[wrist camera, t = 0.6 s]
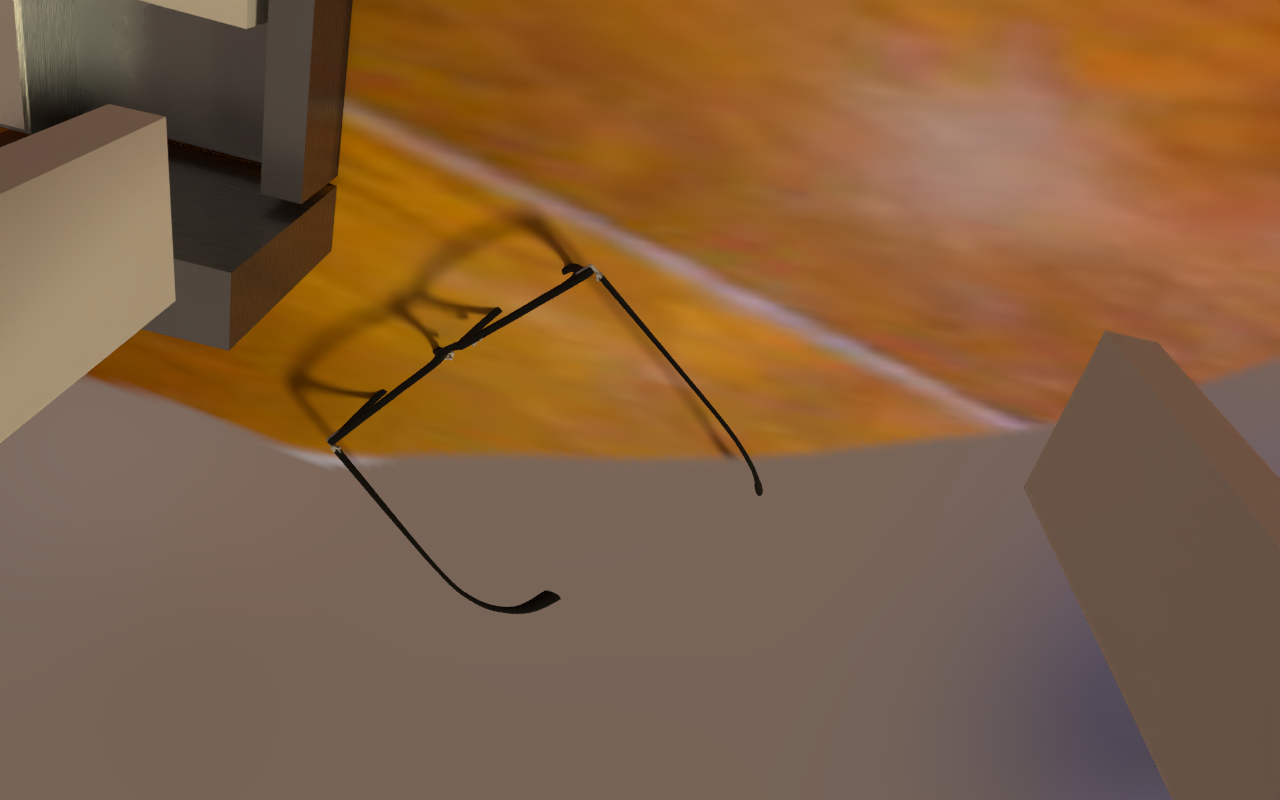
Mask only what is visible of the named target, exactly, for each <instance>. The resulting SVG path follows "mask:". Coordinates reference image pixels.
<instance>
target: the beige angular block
mask: <svg viewBox="0 0 1280 800" xmlns="http://www.w3.org/2000/svg"><path fill="white" fill-rule="evenodd" d="M140 1H144V2H147V3H151V4H155V5H159V6H162V7H166V8H170V9H173V10H177V11H181V12H185V13H188V14H192V15H196V16H200V17H203V18H207V19H211V20H215V21H218V22H222V23H226V24H229V25H233V26H237V27H241V28H244V29H248V28H251V27H254V26H257V25H260V24H263V23H267V22H268V4H269V0H140Z"/></svg>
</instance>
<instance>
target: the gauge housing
mask: <svg viewBox="0 0 1280 800" xmlns="http://www.w3.org/2000/svg"><path fill="white" fill-rule="evenodd" d="M351 11H352V0H269V4H268V22H267V23H263V24H260V25H257V26H254V27H251V28H248V29H244V28H241V27H237V26H233V25H229V24H226V23H222V22H218V21H215V20H211V19H207V18H203V17H200V16H196V15H192V14H188V13H185V12H181V11H177V10H173V9H170V8H166V7H162V6H159V5H155V4H151V3H147V2H144V1H140V0H0V127H4V128H7V129H10V130H8V131H5V132H2V133H0V147H3V146H5V145H8V144H10V143H13V142H15V141H18V140H20V139H22V138H25V137H27V136H30V135H32V134H35V133H37V132H40V131H42V130H45V129H47V128H50V127H52V126H55V125H57V124H60V123H62V122H65V121H67V120H70V119H72V118H75V117H77V116H80V115H82V114H85V113H87V112H90V111H92V110H95V109H97V108H100V107H102V106H105V105H107V104H112V105H116V106H120V107H125V108H129V109H134V110H138V111H142V112H147V113H151V114H156V115H160V116H164V117H166V128H167V138H168V139H172V140H176V141H179V142H183V143H187V144H191V145H195V146H199V147H203V148H206V149H210V150H214V151H218V152H222V153H226V154H229V155H233V156H237V157H241V158H245V159H249V160H253V161H256V162H260V163H262V167H259V166H255V165H251V164H247V163H244V162H240V161H236V160H232V159H228V158H224V157H220V156H217V155H213V154H209V153H205V152H201V151H197V150H193V149H190V148H186V147H182V146H178V145H174V144H170V143H167V147H168V166H169V184H170V203H171V222H172V241H173V260H174V279H175V298H176V301H175V302H174V303H172V304H171V305H170V306H169V307H167V308H166V309H165V310H164V311H162V312H161V313H160V314H159V315H158V316H156V317H155V318H154V319H153V320H151V321H150V322H149V323H148V324H146V325H145V326H144V327H143V328H141V329H144V330H148V331H152V332H156V333H160V334H164V335H168V336H172V337H176V338H180V339H184V340H188V341H192V342H196V343H200V344H204V345H208V346H213V347H217V348H221V349H225V350H230V349H231V348H232V347H233V346H234V345H235V344H236V343H237V342H238V341H239V340H240V339H241V338H242V337H243V336H244V335H245V334H247V333H248V332H249V331H250V330H251V329H252V328H253V327H254V326H255V325H256V324H257V323H258V322H259V321H260V320H261V319H262V318H263V317H264V316H265V315H266V314H267V313H268V312H269V311H270V310H271V309H272V308H273V307H274V306H275V305H276V304H277V303H278V302H279V301H280V300H281V299H282V298H283V297H284V296H285V295H287V294H288V293H289V292H290V291H291V290H292V289H293V288H294V287H295V286H296V285H297V284H298V283H299V282H300V281H301V280H302V279H303V278H304V277H305V276H306V275H307V274H308V273H309V272H310V271H311V270H312V269H313V268H314V267H315V266H316V265H317V264H318V263H319V262H320V261H321V260H322V259H323V258H324V257H325V256H327V255H328V254H329V253H330V252H331V247H332V235H333V224H334V212H335V200H336V188H337V187H336V186H332V185H328V184H327V183H329V182H330V181H331V180H333V179H334V178H335V177H336V176H338V165H339V153H340V141H341V129H342V118H343V106H344V94H345V82H346V70H347V59H348V47H349V35H350V23H351Z"/></svg>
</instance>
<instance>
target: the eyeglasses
mask: <svg viewBox="0 0 1280 800" xmlns="http://www.w3.org/2000/svg"><path fill="white" fill-rule="evenodd" d="M569 272H574V273H573V274H572V276H571V277H570V278H569V279H567V280H566V281H565V282H563V283H562V284H560V285H558V286H557V287H555V288H553V289H551V290H550V291H548V292H546V293H544V294H543V295H541V296H539V297H537V298H536V299H534V300H532V301H531V302H529V303H528V304H526V305H524V306H522V307H521V308H519V309H517V310H516V311H514V312H512V313H510V314H509V315H507V316H505V317H503V318H502V319H500V320H498V321H496V322H494V323H493V324H491V325H489V326H487V327H486V328H484V327H485V326H486V325H487V324H488V323H489V322H491V321H492V320H493V319H494V318H495V317H496V316H498V315H499V314H500V313H501V312H502V310H501V309H500V308H499V307H497V308H495V309H494V310H493V311H491V312H490V313H489V314H488V315H487V316H485V317H484V318H483V319H482V320H481V321H480V322H479V323H477V324H476V325H475V326H474V327H473V328H472V329H471V330H470V331H469V332H468V333H466V334H465V335H464V336H463V337H462V338H461V339H460V340H459V341H458V342H455V343H453V344H450V345H448V346H446V347H444V348H442V347H437V348H436V349H434V350H433V353H434V354H435V357H434V359H433V360H431V361H430V362H429V363H428V364H427V365H426V366H424V367H423V368H422V369H420V370H419V371H418V372H416V373H415V374H414V375H412V376H411V377H410V378H408V379H407V380H406V381H404V382H403V383H402V384H400V385H399V386H398V387H396V388H395V389H394V390H392V391H391V392H390V393H389V394H387V395H386V396H385V397H383V398H382V399H381V400H379V399H380V398H381V397H382V396H383V395H385V394H386V393H387V391H385V390H384V389H382V390H380V391H379V392H377V393H376V394H375V395H374V396H373V397H372V398H371V399H370V400H369V401H368V402H366V403H365V404H364V405H363V406H362V407H361V408H360V409H359V410H358V411H357V412H356V413H355V414H354V415H353V416H352V417H351V418H350V419H349V420H348V421H347V422H346V423H345V424H344V425H343V426H342V427H341V428H340V429H339V430H337V431H336V432H335V433H333V434H332V435H331V436H329V437H328V438H327V440H326V441H327V442H328V443H329V445H330V446H331V447H332V448H331V449H332V451H333V452H334V453H335V454H336V455H337V456H338V458H339V459H340V460H341V461H342V462H343V463H344V465H345V466H346V467H347V468H348V469H349V471H350V472H351V473H352V474H353V475H354V476H355V477H356V479H357V480H358V481H359V482H360V483H361V485H362V486H363V487H364V488H365V489H366V491H368V493H369V494H370V495H371V496H372V498H373V499H374V500H375V501H376V502H377V503H378V505H379V506H380V507H381V508H382V509H383V511H384V512H385V513H386V514H387V515H388V516H389V518H390V519H392V521H393V522H394V523H395V524H396V526H397V527H398V528H399V529H400V530H401V531H402V533H403V534H404V535H405V536H406V537H407V538H408V540H409V541H410V542H411V543H412V544H413V545H414V547H415V548H416V549H417V550H418V551H419V552H420V554H421V555H422V556H423V557H424V558H425V559H426V560H427V561H428V562H429V564H431V566H432V567H433V568H434V569H435V570H436V571H437V572H438V573H439V574H440V575H441V577H442V578H443V579H444V580H445V581H446V582H447V583H448V584H449V585H450V586H452V587H453V588H454V589H455V590H456V591H457V592H459V593H460V594H461V595H462V596H464V597H465V598H467V599H469V600H470V601H472V602H474V603H475V604H477V605H479V606H482V607H483V608H486V609H489V610H492V611H496V612H503V613H509V614H525V613H531V612H534V611H538V610H540V609H543V608H545V607H547V606H549V605H551V604H553V603H555V602H557V601H558V600H560V599H561V598H560V596H559V595H558V594H556V593H554V592H552V591H548V590H546V591H543V592H542V593H540V594H539V595H537V596H536V597H534V598H533V599H531V600H529V601H527V602H525V603H523V604H521V605H518V606H515V607H500V606H494V605H490V604H487V603H484V602H482V601H479V600H477V599H475V598H474V597H472V596H470V595H469V594H467V593H465V592H464V591H462V590H461V589H460V588H459V587H457V586H456V585H455V584H454V583H453V582H452V581H451V580H450V579H449V578H448V577H447V576H446V575H445V574H444V573H443V572H442V571H441V570H440V569H439V567H437V565H436V564H435V563H434V562H433V561H432V560H431V559H430V557H429V556H428V555H427V554H426V553H425V552H424V550H423V549H422V548H421V547H420V545H419V544H418V543H417V542H416V541H415V540H414V538H413V537H412V536H411V535H410V534H409V532H408V531H407V530H406V529H405V528H404V526H403V525H402V524H401V523H400V521H399V520H398V519H397V518H396V516H395V515H394V514H393V513H392V512H391V510H390V509H389V508H388V507H387V505H386V504H385V503H384V502H383V501H382V499H381V498H380V497H379V496H378V494H377V493H376V492H375V491H374V489H373V488H372V487H371V486H370V485H369V483H368V482H367V481H366V480H365V478H364V477H363V476H362V475H361V474H360V472H359V471H358V470H357V469H356V467H355V466H354V465H353V464H352V462H351V461H350V460H349V459H348V458H347V456H346V455H345V454H344V453H343V451H342V450H341V447H340V446H337V445H336V444H335V443H337V442H338V441H339V440H341V439H342V438H343V437H344V436H346V435H347V434H348V433H349V432H351V431H352V430H353V429H355V428H356V427H357V426H358V425H360V424H361V423H362V422H364V421H365V420H366V419H368V418H369V417H370V416H372V415H373V414H374V413H376V412H377V411H378V410H380V409H381V408H382V407H384V406H385V405H386V404H387V403H389V402H390V401H391V400H393V399H394V398H395V397H397V396H398V395H399V394H400V393H402V392H403V391H404V390H406V389H407V388H409V387H410V386H411V385H413V384H414V383H415V382H417V381H418V380H419V379H421V378H422V377H423V376H425V375H426V374H427V373H429V372H430V371H431V370H433V369H434V368H435V367H437V366H438V365H439V364H440V363H441V362H442V361H443V360H445V359H450V360H453V358H452V357H454V352H453V351H455V350H463V349H464V348H466V347H468V346H470V345H473V346H475V345H476V344H477V342H478V341H481V340H482V338H484V337H486V336H487V335H489V334H491V333H493V332H494V331H496V330H498V329H500V328H502V327H503V326H505V325H507V324H509V323H511V322H513V321H514V320H516V319H518V318H519V317H521V316H523V315H525V314H526V313H528V312H530V311H531V310H533V309H535V308H537V307H538V306H540V305H542V304H544V303H545V302H547V301H549V300H551V299H552V298H554V297H556V296H558V295H559V294H561V293H563V292H565V291H566V290H568V289H570V288H572V287H573V286H575V285H577V284H578V283H580V282H582V281H584V280H585V279H587V278H588V277H590V276H591V275H592V274H593V273H594V272H595V273H596V276H597V278H596V280H597V281H601V282H602V283H603V285H604V286H605V287H606V288H607V289H608V290H609V292H610V293H611V294H612V295H613V296H614V297H615V299H616V300H617V301H618V302H619V303H620V304H621V306H622V307H623V308H624V309H625V310H626V311H627V313H628V314H629V315H630V316H631V317H632V318H633V320H634V321H635V322H636V323H637V324H638V325H639V327H640V328H641V329H642V330H643V331H644V332H645V334H646V335H647V336H648V337H649V338H650V339H651V341H652V342H653V343H654V344H655V345H656V346H657V348H658V349H659V350H660V351H661V352H662V353H663V355H664V356H665V357H666V358H667V359H668V361H669V362H670V363H671V364H672V365H673V366H674V368H675V369H676V370H677V371H678V372H679V374H680V375H681V376H682V377H683V378H684V380H685V381H686V382H687V383H688V384H689V386H690V387H691V388H692V389H693V390H694V392H695V393H696V394H697V395H698V396H699V397H700V399H701V400H702V401H703V402H704V403H705V405H706V406H707V407H708V408H709V409H710V411H711V412H712V413H713V414H714V415H715V417H716V418H717V419H718V420H719V422H720V423H721V424H722V426H723V427H724V428H725V430H726V431H727V432H728V434H729V435H730V436H731V438H732V439H733V440H734V442H735V443H736V445H737V446H738V448H739V449H740V451H741V453H742V454H743V456H744V458H745V460H746V461H747V463H748V465H749V467H750V469H751V471H752V474H753V477H754V481H755V490H756V493H757V495H758V496H761V495H762V492H763V489H762V484H761V482H760V480H759V477H758V475H757V472H756V469H755V467H754V465H753V463H752V461H751V460H750V458H749V456H748V454H747V453H746V451H745V449H744V448H743V446H742V445H741V443H740V442H739V440H738V439H737V437H736V436H735V434H734V433H733V432H732V430H731V429H730V428H729V426H728V425H727V424H726V422H725V421H724V420H723V419H722V418H721V416H720V415H719V414H718V413H717V411H716V410H715V409H714V408H713V406H712V405H711V404H710V403H709V401H708V400H707V399H706V398H705V397H704V395H703V394H702V393H701V392H700V390H699V389H698V388H697V387H696V386H695V384H694V383H693V382H692V381H691V380H690V378H689V377H688V376H687V375H686V374H685V372H684V371H683V370H682V369H681V368H680V366H679V365H678V364H677V363H676V362H675V360H674V359H673V358H672V357H671V356H670V354H669V353H668V352H667V351H666V350H665V349H664V347H663V346H662V345H661V344H660V343H659V341H658V340H657V339H656V338H655V337H654V335H653V334H652V333H651V332H650V331H649V329H648V328H647V327H646V326H645V325H644V323H643V322H642V321H641V320H640V319H639V317H638V316H637V315H636V314H635V313H634V311H633V310H632V309H631V308H630V307H629V305H628V304H627V303H626V302H625V301H624V299H623V298H622V297H621V296H620V295H619V293H618V292H617V291H616V290H615V289H614V287H613V286H612V285H611V284H610V283H609V281H608V280H607V279H606V278H605V277H604V275H603V274H602V272H600V271H598V270H597V269H596V268H595V266H594V265H593V264H590V265H588V266H587V267H582V266H580V265H578V264H570V265H568V266H566V267H564V268H563V269H562V273H563V275H564V274H567V273H569ZM483 328H484V329H483ZM446 355H447V357H446ZM378 400H379V401H378ZM377 401H378V402H377ZM376 402H377V403H376ZM375 403H376V404H375Z"/></svg>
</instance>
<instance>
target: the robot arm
mask: <svg viewBox="0 0 1280 800" xmlns="http://www.w3.org/2000/svg"><path fill="white" fill-rule="evenodd" d="M175 301H176V298H175V279H174V260H173V241H172V222H171V203H170V184H169V166H168V147H167V128H166V117H164V116H160V115H156V114H151V113H147V112H142V111H138V110H134V109H129V108H125V107H120V106H116V105H112V104H107V105H105V106H102V107H100V108H97V109H95V110H92V111H90V112H87V113H85V114H82V115H80V116H77V117H75V118H72V119H70V120H67V121H65V122H62V123H60V124H57V125H55V126H52V127H50V128H47V129H45V130H42V131H40V132H37V133H35V134H32V135H30V136H27V137H25V138H22V139H20V140H18V141H15V142H13V143H10V144H8V145H5V146H3V147H0V443H1V442H2V441H3V440H4V439H6V438H7V437H8V436H9V435H11V434H12V433H13V432H14V431H16V430H17V429H18V428H19V427H20V426H22V425H23V424H24V423H25V422H27V421H28V420H29V419H30V418H32V417H33V416H34V415H35V414H37V413H38V412H39V411H40V410H42V409H43V408H44V407H45V406H46V405H48V404H49V403H50V402H51V401H53V400H54V399H55V398H56V397H58V396H59V395H60V394H61V393H62V392H64V391H65V390H66V389H67V388H69V387H70V386H71V385H72V384H74V383H75V382H76V381H77V380H79V379H80V378H81V377H82V376H83V375H85V374H86V373H87V372H88V371H90V370H91V369H92V368H93V367H95V366H96V365H97V364H98V363H100V362H101V361H102V360H103V359H104V358H106V357H107V356H108V355H109V354H111V353H112V352H113V351H114V350H116V349H117V348H118V347H119V346H121V345H122V344H123V343H124V342H125V341H127V340H128V339H129V338H130V337H132V336H133V335H134V334H135V333H137V332H138V331H139V330H140V329H141V328H143V327H144V326H145V325H146V324H148V323H149V322H150V321H151V320H153V319H154V318H155V317H156V316H158V315H159V314H160V313H161V312H162V311H164V310H165V309H166V308H167V307H169V306H170V305H171V304H172V303H174V302H175ZM1024 489H1025V491H1026V493H1027V496H1028V498H1029V500H1030V502H1031V504H1032V506H1033V508H1034V510H1035V512H1036V514H1037V516H1038V519H1039V520H1040V522H1041V525H1042V527H1043V529H1044V531H1045V533H1046V535H1047V537H1048V540H1049V542H1050V544H1051V546H1052V548H1053V550H1054V552H1055V554H1056V556H1057V558H1058V561H1059V562H1060V565H1061V567H1062V569H1063V571H1064V573H1065V575H1066V577H1067V579H1068V581H1069V583H1070V586H1071V588H1072V590H1073V592H1074V594H1075V596H1076V598H1077V600H1078V602H1079V605H1080V606H1081V609H1082V611H1083V613H1084V615H1085V617H1086V619H1087V621H1088V623H1089V626H1090V628H1091V630H1092V632H1093V634H1094V636H1095V638H1096V640H1097V642H1098V644H1099V646H1100V649H1101V650H1102V653H1103V655H1104V657H1105V659H1106V661H1107V663H1108V665H1109V667H1110V669H1111V672H1112V674H1113V676H1114V678H1115V680H1116V682H1117V684H1118V686H1119V688H1120V690H1121V692H1122V695H1123V697H1124V699H1125V701H1126V703H1127V705H1128V707H1129V709H1130V711H1131V714H1132V715H1133V718H1134V720H1135V722H1136V724H1137V726H1138V728H1139V730H1140V732H1141V734H1142V737H1143V739H1144V741H1145V743H1146V745H1147V747H1148V749H1149V751H1150V753H1151V755H1152V757H1153V760H1154V762H1155V764H1156V766H1157V768H1158V770H1159V772H1160V774H1161V776H1162V778H1163V781H1164V783H1165V785H1166V787H1167V789H1168V791H1169V793H1170V795H1171V797H1172V799H1173V800H1280V478H1279V477H1278V476H1277V475H1276V474H1275V473H1274V472H1273V470H1272V469H1271V468H1270V467H1269V466H1268V465H1267V464H1266V463H1265V462H1264V460H1263V459H1262V458H1261V457H1260V456H1259V455H1258V454H1257V453H1256V451H1255V450H1254V449H1253V448H1252V447H1251V446H1250V445H1249V444H1248V443H1247V442H1246V440H1245V439H1244V438H1243V437H1242V436H1241V435H1240V434H1239V432H1238V431H1237V430H1236V429H1235V428H1234V427H1233V426H1232V425H1231V424H1230V422H1229V421H1228V420H1227V419H1226V418H1225V417H1224V416H1223V415H1222V414H1221V412H1220V411H1219V410H1218V409H1217V408H1216V407H1215V406H1214V405H1213V403H1212V402H1211V401H1210V400H1209V399H1208V398H1207V397H1206V396H1205V395H1204V394H1203V392H1202V391H1201V390H1200V389H1199V388H1198V387H1197V386H1196V385H1195V383H1194V382H1193V381H1192V380H1191V379H1190V378H1189V377H1188V376H1187V374H1186V373H1185V372H1184V371H1183V370H1182V369H1181V368H1180V367H1179V366H1178V364H1177V363H1176V362H1175V361H1174V360H1173V359H1172V358H1171V357H1170V355H1169V354H1168V353H1167V352H1166V351H1165V350H1164V349H1163V348H1162V347H1161V345H1160V344H1159V343H1158V342H1153V341H1149V340H1145V339H1140V338H1136V337H1131V336H1127V335H1123V334H1118V333H1114V332H1109V331H1105V332H1104V334H1103V336H1102V338H1101V340H1100V342H1099V344H1098V346H1097V347H1096V349H1095V351H1094V353H1093V355H1092V357H1091V359H1090V361H1089V363H1088V365H1087V367H1086V369H1085V371H1084V372H1083V374H1082V376H1081V378H1080V380H1079V382H1078V384H1077V386H1076V388H1075V390H1074V392H1073V394H1072V395H1071V397H1070V399H1069V401H1068V403H1067V405H1066V407H1065V409H1064V411H1063V413H1062V415H1061V417H1060V418H1059V420H1058V422H1057V424H1056V426H1055V428H1054V430H1053V432H1052V434H1051V436H1050V438H1049V440H1048V442H1047V443H1046V445H1045V447H1044V449H1043V451H1042V453H1041V455H1040V457H1039V459H1038V461H1037V463H1036V465H1035V467H1034V468H1033V471H1032V472H1031V474H1030V476H1029V478H1028V480H1027V482H1026V484H1025V486H1024Z"/></svg>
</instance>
